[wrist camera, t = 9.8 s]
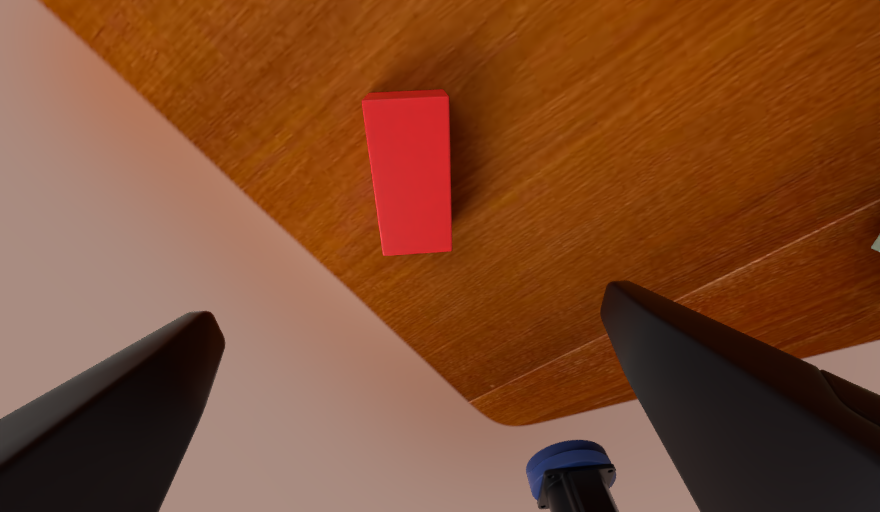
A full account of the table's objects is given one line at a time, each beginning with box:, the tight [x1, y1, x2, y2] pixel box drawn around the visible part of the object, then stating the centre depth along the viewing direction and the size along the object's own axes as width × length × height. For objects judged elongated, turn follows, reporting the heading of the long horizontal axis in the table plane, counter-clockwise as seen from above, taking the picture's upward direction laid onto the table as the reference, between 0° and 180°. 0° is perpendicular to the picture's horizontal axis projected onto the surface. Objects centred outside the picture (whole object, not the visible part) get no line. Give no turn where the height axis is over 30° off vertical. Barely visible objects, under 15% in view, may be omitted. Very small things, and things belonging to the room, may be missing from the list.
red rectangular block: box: [362, 89, 452, 256], centre depth 16 cm, size 7×3×3 cm, turn 2°
